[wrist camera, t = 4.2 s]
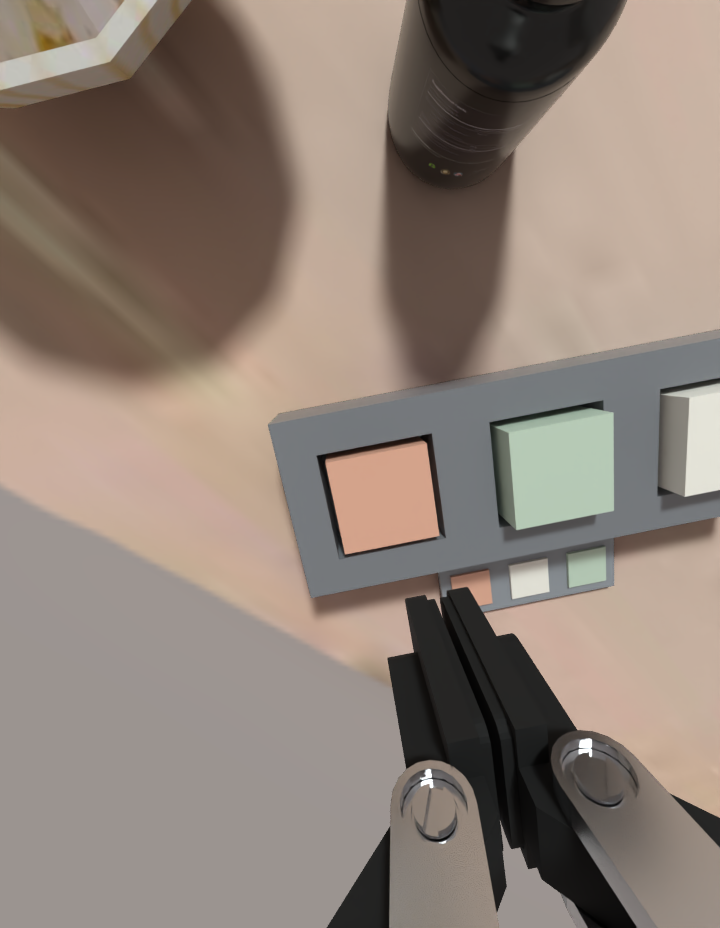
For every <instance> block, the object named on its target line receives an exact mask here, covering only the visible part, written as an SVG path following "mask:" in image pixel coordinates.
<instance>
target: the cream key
mask: <svg viewBox="0 0 720 928" xmlns="http://www.w3.org/2000/svg"><path fill="white" fill-rule="evenodd" d="M657 486H659V487H661V488H664V489H666V490H669V491H671V492H674V493H676V494H679V495H681V496H684V497H686V496H691V495H697V494H702V493H707V492H712V491H717V490H720V378H716V379H710V380H705V381H700V382H695V383H690V384H685V385H679V386H674V387H669V388H664V389H660V412H659V448H658V485H657Z"/></svg>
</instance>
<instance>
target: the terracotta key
mask: <svg viewBox="0 0 720 928" xmlns="http://www.w3.org/2000/svg"><path fill="white" fill-rule="evenodd" d="M326 468H327V473H328V477H329V482H330V487H331V491H332V496H333V501H334V505H335V510H336V515H337V519H338V524H339V529H340V533H341V538H342V543H343V547H344V552H345V554H350V553H355V552H360V551H365V550H371V549H376V548H381V547H386V546H391V545H396V544H401V543H406V542H411V541H416V540H421V539H426V538H431V537H436V536H439V529H438V522H437V514H436V507H435V500H434V493H433V486H432V478H431V471H430V464H429V457H428V450H427V443H426V442H424V441H423V440H422V439H421V438H420V437H419V436H415V437H410V438H405V439H400V440H394V441H389V442H384V443H379V444H374V445H369V446H363V447H358V448H353V449H348V450H343V451H338V452H332V453H327V454H326Z"/></svg>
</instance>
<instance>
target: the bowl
mask: <svg viewBox="0 0 720 928" xmlns="http://www.w3.org/2000/svg"><path fill="white" fill-rule="evenodd" d="M191 1H192V0H0V108H19V107H23V106H26V105H30V104H34V103H38V102H42V101H46V100H50V99H54V98H57V97H61V96H65V95H69V94H73V93H77V92H81V91H85V90H88V89H92V88H96V87H100V86H104V85H108V84H112V83H116V82H119V81H123V80H127V79H131V77H132V76H133V75H134V73H135V72H136V71H137V70H138V68H139V67H140V66H141V64H142V63H143V62H144V61H145V59H146V58H147V57H148V56H149V54H150V53H151V52H152V50H153V49H154V48H155V47H156V45H157V44H158V43H159V41H160V40H161V39H162V38H163V36H164V35H165V34H166V33H167V31H168V30H169V29H170V27H171V26H172V25H173V24H174V22H175V21H176V20H177V18H178V17H179V16H180V15H181V13H182V12H183V11H184V10H185V8H186V7H187V6H188V4H189V3H190V2H191Z"/></svg>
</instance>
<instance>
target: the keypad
mask: <svg viewBox="0 0 720 928" xmlns="http://www.w3.org/2000/svg"><path fill="white" fill-rule="evenodd" d="M716 378H720V329H719V330H714V331H708V332H703V333H698V334H693V335H688V336H682V337H677V338H672V339H667V340H661V341H656V342H651V343H646V344H640V345H635V346H630V347H625V348H620V349H614V350H609V351H604V352H599V353H593V354H588V355H583V356H578V357H573V358H567V359H562V360H557V361H552V362H546V363H541V364H536V365H531V366H525V367H520V368H515V369H510V370H505V371H499V372H494V373H489V374H484V375H478V376H473V377H468V378H463V379H458V380H452V381H447V382H442V383H437V384H431V385H426V386H421V387H416V388H410V389H405V390H400V391H395V392H390V393H384V394H379V395H374V396H369V397H363V398H358V399H353V400H348V401H343V402H337V403H332V404H327V405H322V406H316V407H311V408H306V409H301V410H295V411H290V412H285V413H280V414H278V415H277V416H276V417H275V418H274V419H273V420H272V421H271V422H270V423H269V424H268V427H269V431H270V435H271V439H272V443H273V447H274V451H275V455H276V459H277V463H278V467H279V471H280V475H281V479H282V483H283V487H284V491H285V495H286V499H287V503H288V507H289V511H290V516H291V520H292V524H293V528H294V532H295V536H296V540H297V544H298V548H299V552H300V556H301V560H302V564H303V568H304V572H305V576H306V580H307V584H308V588H309V592H310V596H311V598H313V597H318V596H323V595H328V594H334V593H339V592H344V591H349V590H354V589H359V588H364V587H369V586H374V585H379V584H384V583H389V582H394V581H399V580H404V579H409V578H414V577H419V576H424V575H429V574H434V573H439V572H444V571H449V570H454V569H459V568H464V567H469V566H474V565H479V564H484V563H489V562H494V561H499V560H504V559H509V558H514V557H519V556H525V555H530V554H535V553H540V552H545V551H550V550H555V549H560V548H565V547H570V546H575V545H580V544H585V543H590V542H595V541H600V540H605V539H610V538H615V537H620V536H625V535H630V534H635V533H640V532H645V531H650V530H655V529H660V528H665V527H670V526H675V525H680V524H685V523H690V522H695V521H700V520H705V519H710V518H716V517H720V490H717V491H712V492H707V493H702V494H697V495H691V496H686V497H684V496H681V495H679V494H676V493H674V492H671V491H669V490H666V489H664V488H661V487H659V486H657V485H658V448H659V412H660V389H664V388H669V387H674V386H679V385H685V384H690V383H695V382H700V381H705V380H710V379H716ZM576 405H577V406H582V407H587V408H592V409H597V410H603V411H608V412H613V413H614V511H611V512H606V513H601V514H595V515H590V516H585V517H580V518H575V519H570V520H565V521H560V522H555V523H550V524H545V525H540V526H535V527H530V528H525V529H520V530H516V529H515V528H514V527H512V526H511V525H510V524H509V523H508V522H507V521H506V520H505V519H504V518H503V517H502V516H501V515H500V514H499V513H498V510H497V499H496V488H495V478H494V467H493V456H492V445H491V434H490V423H489V422H493V421H498V420H503V419H509V418H514V417H519V416H524V415H529V414H535V413H540V412H545V411H550V410H555V409H560V408H566V407H571V406H576ZM415 436H419V437H420V438H421V439H422V440H423V441H424V442H426V443H427V450H428V457H429V464H430V471H431V478H432V486H433V493H434V500H435V507H436V514H437V522H438V529H439V536H436V537H431V538H426V539H421V540H416V541H411V542H406V543H401V544H396V545H391V546H386V547H381V548H376V549H371V550H365V551H360V552H355V553H350V554H345V552H344V547H343V543H342V538H341V533H340V529H339V524H338V519H337V515H336V510H335V505H334V501H333V496H332V491H331V487H330V482H329V477H328V473H327V468H326V454H327V453H332V452H338V451H343V450H348V449H353V448H358V447H363V446H369V445H374V444H379V443H384V442H389V441H394V440H400V439H405V438H410V437H415Z"/></svg>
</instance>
